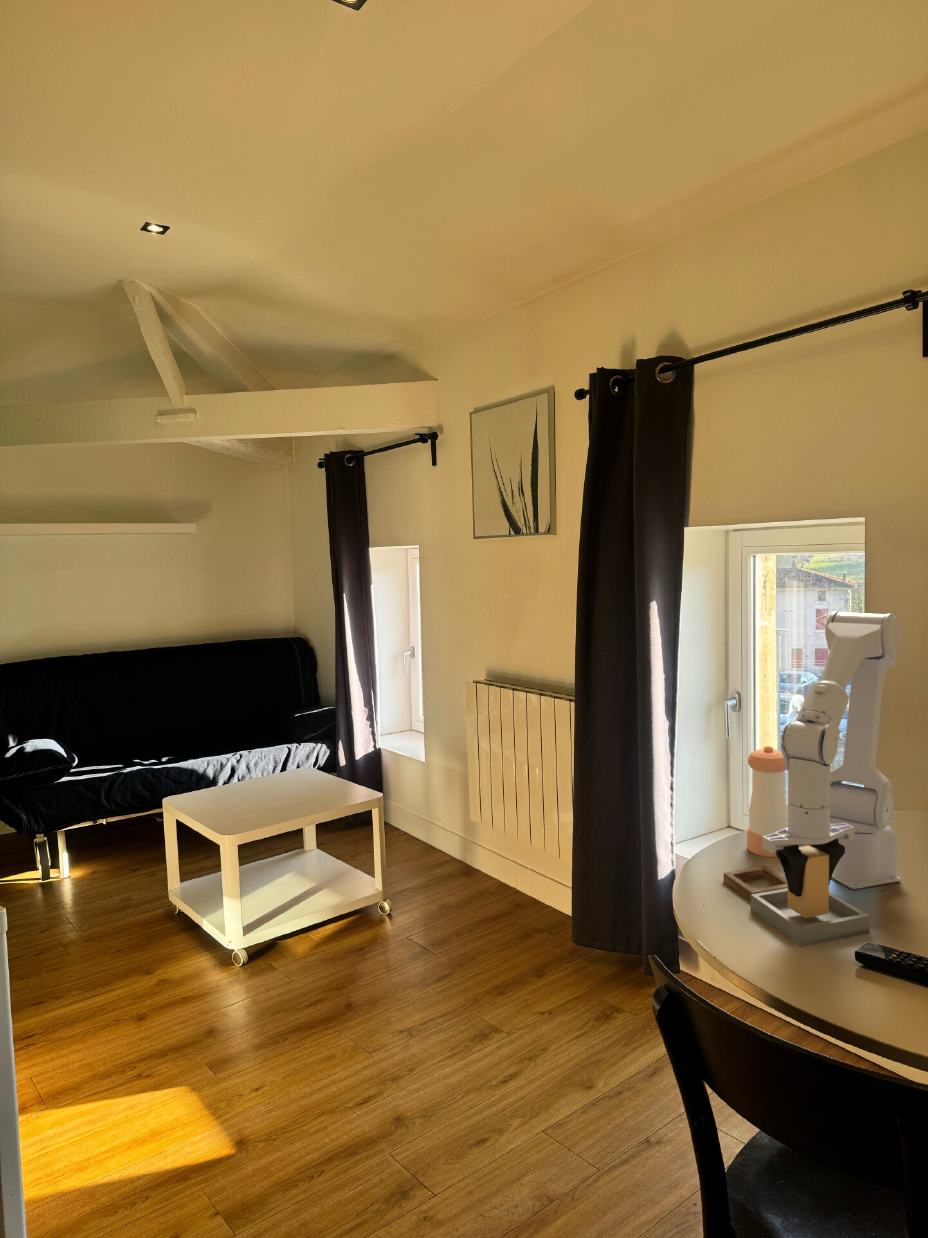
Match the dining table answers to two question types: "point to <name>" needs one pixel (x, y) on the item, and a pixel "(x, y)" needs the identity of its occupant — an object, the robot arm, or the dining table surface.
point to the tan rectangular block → (813, 885)
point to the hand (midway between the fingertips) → (808, 891)
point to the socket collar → (738, 877)
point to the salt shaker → (766, 798)
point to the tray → (814, 929)
